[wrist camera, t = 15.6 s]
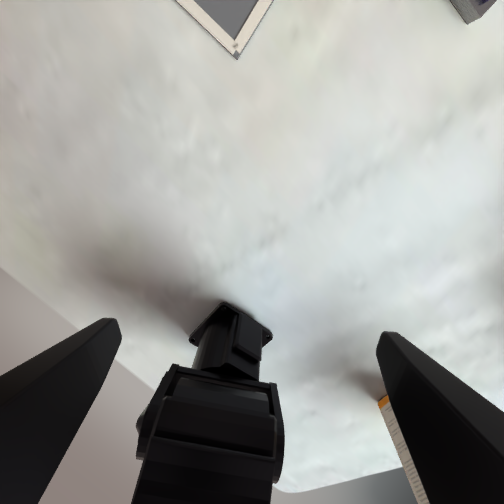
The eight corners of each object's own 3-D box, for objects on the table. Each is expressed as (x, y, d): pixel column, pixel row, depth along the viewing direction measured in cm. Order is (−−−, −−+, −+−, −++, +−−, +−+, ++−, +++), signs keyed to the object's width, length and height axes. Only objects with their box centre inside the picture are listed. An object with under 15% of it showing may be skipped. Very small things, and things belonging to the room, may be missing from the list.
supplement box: (374, 402, 30) (444, 581, 18) (402, 379, 28) (501, 563, 16) (428, 424, 31) (526, 604, 19) (459, 403, 29) (589, 590, 17)
